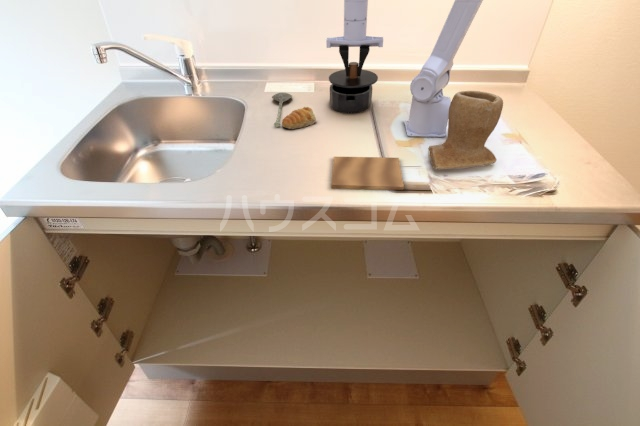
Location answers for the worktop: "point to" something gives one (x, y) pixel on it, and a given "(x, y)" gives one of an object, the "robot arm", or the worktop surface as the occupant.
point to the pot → (350, 99)
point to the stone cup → (468, 131)
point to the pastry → (299, 118)
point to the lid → (353, 77)
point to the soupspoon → (280, 104)
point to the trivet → (367, 173)
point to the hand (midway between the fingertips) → (353, 75)
